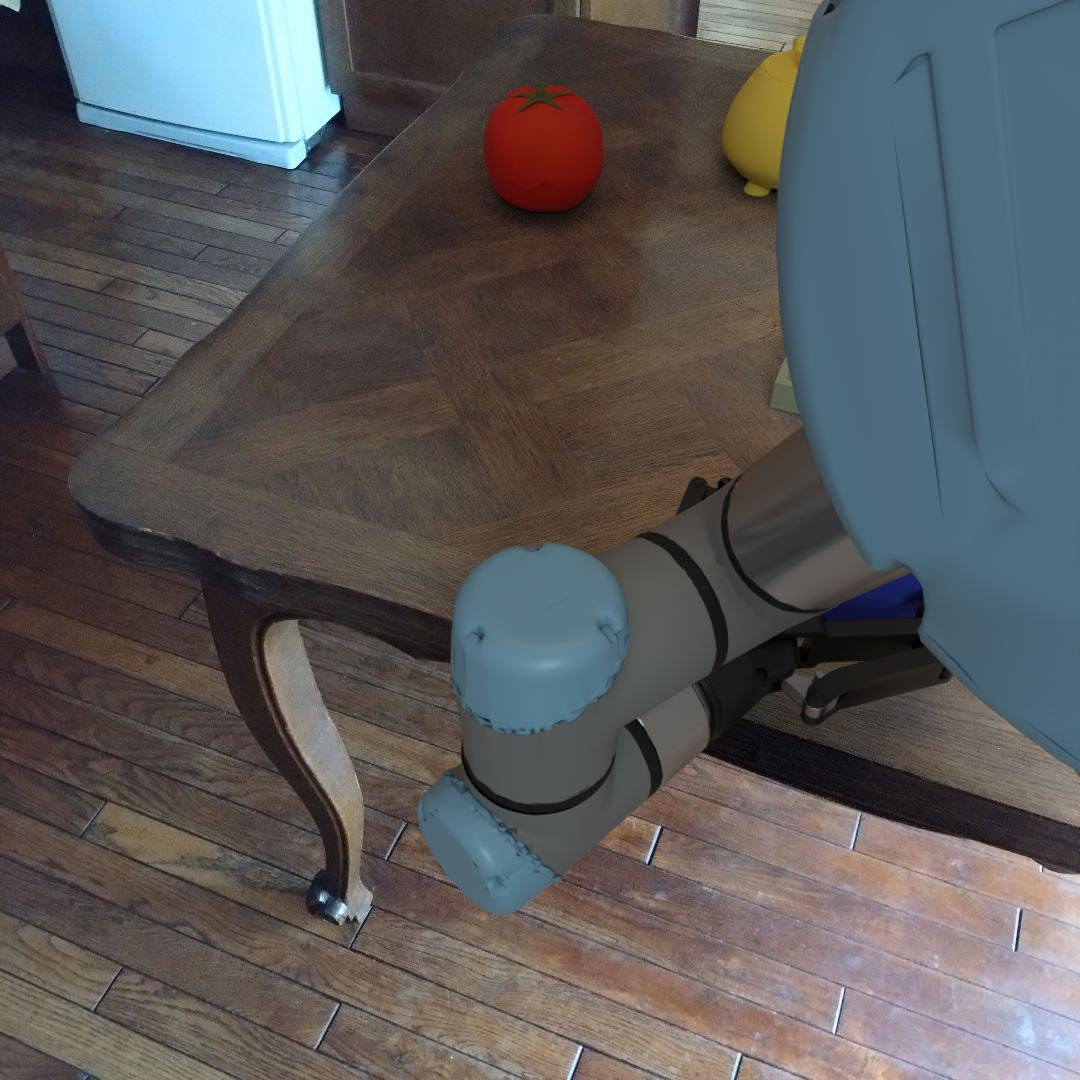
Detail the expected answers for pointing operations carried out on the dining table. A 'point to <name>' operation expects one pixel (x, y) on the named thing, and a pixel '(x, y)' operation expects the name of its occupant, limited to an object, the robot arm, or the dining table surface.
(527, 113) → the tomato
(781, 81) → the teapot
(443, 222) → the dining table surface
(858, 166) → the robot arm
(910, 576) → the mug
